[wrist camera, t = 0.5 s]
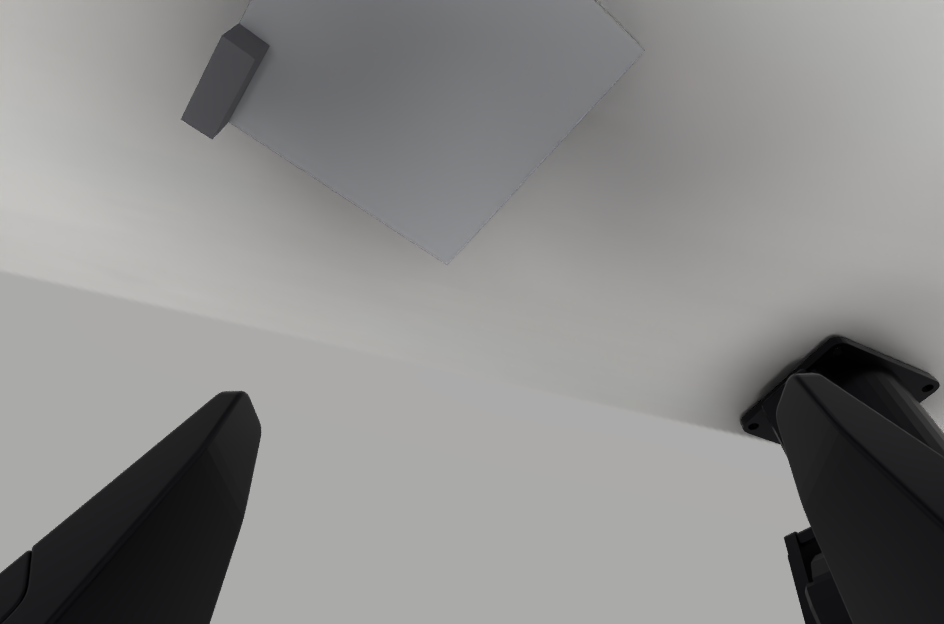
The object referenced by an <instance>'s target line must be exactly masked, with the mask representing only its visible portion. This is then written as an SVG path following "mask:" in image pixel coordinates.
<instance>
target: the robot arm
mask: <svg viewBox="0 0 944 624" xmlns="http://www.w3.org/2000/svg"><path fill="white" fill-rule="evenodd" d="M836 348H837V349H836ZM939 386H940V385H939V382H938V381H937V380H936V379H935V378H934V377H933V376H932V375H930V374H928V373H925V372H923V371H921V370H918V369H916V368H914V367H911V366H909V365H907V364H904V363H902V362H899V361H897V360H895V359H892V358H890V357H888V356H885V355H883V354H881V353H878V352H876V351H874V350H871V349H869V348H867V347H864V346H862V345H860V344H857V343H855V342H852V341H850V340H848V339H845V338H843V337H834V338H832V339H829V340H828V341H827V342H825V343H824V344H823V345H822V346H821V347H820V348H819V349H818V350H817V351H815V352H814V353H813V354H812V355H811V356H810V357H809V358H808V359H807V360H806V361H804V362H803V363H802V364H801V365H800V366H799V367H798V368H797V369H796V370H795V371H793V372H792V373H791V374H790V375H789V376H788V377H787V378H786V379H785V380H783V381H782V382H781V383H780V384H779V385H778V386H777V387H776V388H775V389H774V390H772V391H771V392H770V393H769V394H768V395H767V396H766V397H765V398H764V399H763V400H761V401H760V402H759V403H758V404H757V405H756V406H755V407H754V408H753V409H752V410H750V411H749V412H748V413H747V414H746V415H745V416H744V417H743V418H742V419H741V421H740V423H741V425H742V428H743V430H744V431H745V432H747V433H749V434H752V435H755V436H758V437H761V438H764V439H766V440H769V441H772V442H775V443H778V444H781V446H782V448H783V450H784V452H785V454H786V455H787V458H788V460H789V464H790V467H791V470H792V473H793V477H794V480H795V483H796V487H797V490H798V493H799V496H800V500H801V503H802V505H803V508H804V511H805V513H806V516H807V518H808V521H809V523H810V525H811V527H809V528H807V529H805V530H803V531H801V532H799V533H797V532H793V533H791V534H790V535H787V536H785V537H784V540H785V543H786V547H787V551H788V560H789V563H790V567H791V571H792V575H793V578H794V582H795V586H796V590H797V594H798V598H799V602H800V605H801V609H802V613H803V617H804V620H805V624H944V433H943V432H942V430H941V429H940V428H939V427H938V426H937V424H936V423H935V422H934V421H933V419H932V418H931V417H930V416H929V414H928V413H927V412H926V411H925V409H924V408H923V407H922V406H921V405H920V402H922V401H923V400H924V399H926V398H927V397H928V396H930V395H931V394H933V393H934V392H935V391H936V390H937V389H938V388H939ZM260 438H261V425H260V422H259V419H258V417H257V414H256V413H255V409H254V407H253V405H252V402H251V400H250V398H249V396H248V394H247V393H245V392H243V391H225V392H221V393H219V394H218V395H216V396H215V397H214V398H212V399H211V400H210V401H209V402H207V403H206V404H205V405H204V406H203V407H201V408H200V409H199V410H198V411H197V412H195V413H194V414H193V415H192V416H190V417H189V418H188V419H187V420H186V421H184V422H183V423H182V424H181V425H180V426H179V427H177V428H176V429H175V430H173V431H172V432H171V433H170V434H169V435H167V436H166V437H165V438H164V439H163V440H161V441H160V442H159V443H158V444H157V445H155V446H154V447H153V448H152V449H151V450H149V451H148V452H147V453H146V454H144V455H143V456H142V457H141V458H140V459H138V460H137V461H136V462H135V463H133V464H132V465H131V466H130V467H129V468H127V469H126V470H125V471H124V472H123V473H121V474H120V475H119V476H118V477H117V478H115V479H114V480H113V481H112V482H111V483H109V484H108V485H107V486H106V487H104V488H103V489H102V490H101V491H100V492H98V493H97V494H96V495H95V496H93V497H92V498H91V499H90V500H89V501H87V502H86V503H85V504H84V505H83V506H81V507H80V508H79V509H78V510H76V511H75V512H74V513H73V514H72V515H70V516H69V517H68V518H67V519H66V520H64V521H63V522H62V523H61V524H60V525H58V526H57V527H56V528H55V529H53V530H52V531H51V532H50V533H49V534H47V535H46V536H45V537H44V538H43V539H41V540H40V541H39V542H38V543H36V544H35V545H34V546H33V548H32V551H27V552H25V553H24V554H23V555H22V556H20V557H19V558H18V559H17V560H16V561H14V562H13V563H12V564H11V565H10V566H8V567H7V568H6V569H5V570H3V571H2V572H1V573H0V624H210V621H211V618H212V615H213V611H214V608H215V605H216V602H217V599H218V596H219V593H220V590H221V587H222V584H223V581H224V578H225V575H226V572H227V569H228V566H229V562H230V559H231V556H232V553H233V550H234V547H235V544H236V541H237V538H238V535H239V532H240V529H241V525H242V522H243V519H244V514H245V510H246V506H247V500H248V496H249V492H250V487H251V482H252V476H253V472H254V467H255V462H256V458H257V453H258V448H259V443H260Z"/></svg>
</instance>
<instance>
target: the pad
mask: <svg viewBox="0 0 944 624" xmlns="http://www.w3.org/2000/svg"><path fill="white" fill-rule="evenodd" d="M644 51H645V50H644V49H643V48H642V47H641V46H640V45H639V43H638V42H637V41H636V40H635V39H634V38H633V37H632V36H631V35H630V34H629V33H628V32H627V31H626V30H625V29H624V28H623V27H622V26H621V25H620V24H619V23H618V22H617V21H616V20H615V19H614V18H613V17H612V16H610V15H609V14H608V13H607V12H606V11H605V10H604V9H603V8H602V7H601V6H600V5H599V4H598V3H597V2H596V1H595V0H251V1H250V3H249V5H248V7H247V9H246V11H245V13H244V15H243V17H242V19H241V21H240V23H239V24H238V25H236V26H235V27H233V28H232V29H231V30H229V31H228V32H226V33H225V34H224V35H222V37H221V39H220V41H219V43H218V45H217V47H216V49H215V51H214V53H213V55H212V57H211V59H210V61H209V63H208V65H207V67H206V69H205V71H204V73H203V75H202V77H201V79H200V81H199V83H198V85H197V87H196V89H195V92H194V94H193V96H192V98H191V100H190V102H189V104H188V106H187V108H186V110H185V112H184V114H183V116H182V118H181V120H183V121H184V122H186V123H187V124H189V125H190V126H192V127H194V128H195V129H197V130H198V131H200V132H201V133H203V134H205V135H206V136H208V137H209V138H211V139H213V138H214V137H215V136H216V135H217V134H218V133H219V132H220V131H221V130H222V128H223V127H224V126H225V125H226V124H227V123H228V122H229V123H231V124H232V125H234V126H236V127H237V128H239V129H240V130H242V131H243V132H245V133H246V134H248V135H249V136H251V137H252V138H254V139H255V140H257V141H258V142H260V143H261V144H263V145H264V146H266V147H268V148H269V149H271V150H272V151H274V152H275V153H277V154H278V155H280V156H281V157H283V158H284V159H286V160H287V161H289V162H290V163H292V164H293V165H295V166H297V167H298V168H300V169H301V170H303V171H304V172H306V173H307V174H309V175H310V176H312V177H313V178H315V179H316V180H318V181H319V182H321V183H322V184H324V185H326V186H327V187H329V188H330V189H332V190H333V191H335V192H336V193H338V194H339V195H341V196H342V197H344V198H345V199H347V200H348V201H350V202H351V203H353V204H354V205H356V206H358V207H359V208H361V209H362V210H364V211H365V212H367V213H368V214H370V215H371V216H373V217H374V218H376V219H377V220H379V221H380V222H382V223H383V224H385V225H387V226H388V227H390V228H391V229H393V230H394V231H396V232H397V233H399V234H400V235H402V236H403V237H405V238H406V239H408V240H409V241H411V242H412V243H414V244H416V245H417V246H419V247H420V248H422V249H423V250H425V251H426V252H428V253H429V254H431V255H432V256H434V257H435V258H437V259H438V260H440V261H441V262H443V263H444V264H446V265H448V264H449V263H450V262H451V260H452V259H453V258H454V257H455V256H456V255H457V254H458V253H459V252H460V251H461V250H462V249H463V247H464V246H465V245H466V244H467V243H468V242H469V241H470V240H471V239H472V238H473V237H474V236H475V234H476V233H477V232H478V231H479V230H480V229H481V228H482V227H483V226H484V225H485V224H486V222H487V221H488V220H489V219H490V218H491V217H492V216H493V215H494V214H495V213H496V212H497V211H498V209H499V208H500V207H501V206H502V205H503V204H504V203H505V202H506V201H507V200H508V199H509V198H510V196H511V195H512V194H513V193H514V192H515V191H516V190H517V189H518V188H519V187H520V186H521V185H522V183H523V182H524V181H525V180H526V179H527V178H528V177H529V176H530V175H531V174H532V173H533V172H534V170H535V169H536V168H537V167H538V166H539V165H540V164H541V163H542V162H543V161H544V160H545V159H546V157H547V156H548V155H549V154H550V153H551V152H552V151H553V150H554V149H555V148H556V147H557V145H558V144H559V143H560V142H561V141H562V140H563V139H564V138H565V137H566V136H567V135H568V134H569V132H570V131H571V130H572V129H573V128H574V127H575V126H576V125H577V124H578V123H579V122H580V121H581V119H582V118H583V117H584V116H585V115H586V114H587V113H588V112H589V111H590V110H591V109H592V108H593V106H594V105H595V104H596V103H597V102H598V101H599V100H600V99H601V98H602V97H603V96H604V95H605V93H606V92H607V91H608V90H609V89H610V88H611V87H612V86H613V85H614V84H615V83H616V82H617V80H618V79H619V78H620V77H621V76H622V75H623V74H624V73H625V72H626V71H627V70H628V68H629V67H630V66H631V65H632V64H633V63H634V62H635V61H636V60H637V59H638V58H639V57H640V55H641V54H642V53H643V52H644Z"/></svg>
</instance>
